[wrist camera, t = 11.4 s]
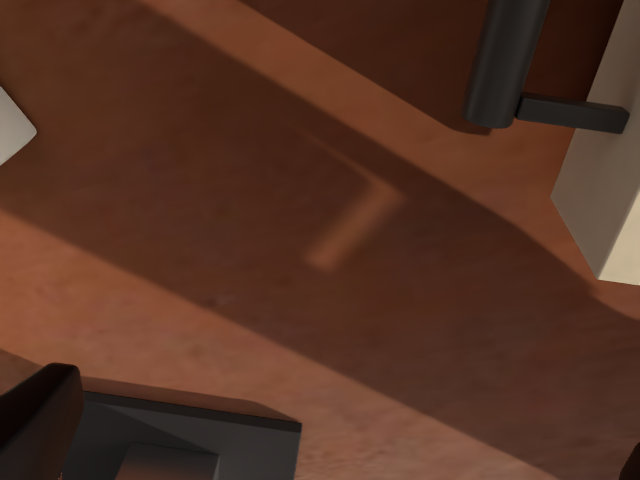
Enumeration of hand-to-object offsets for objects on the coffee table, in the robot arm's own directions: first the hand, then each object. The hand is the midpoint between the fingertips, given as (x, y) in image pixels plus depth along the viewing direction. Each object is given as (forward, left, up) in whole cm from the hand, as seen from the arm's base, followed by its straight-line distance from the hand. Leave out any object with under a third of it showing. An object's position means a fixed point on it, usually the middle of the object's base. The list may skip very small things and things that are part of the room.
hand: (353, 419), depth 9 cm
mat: (-21, +7, -12) cm, 25 cm away
